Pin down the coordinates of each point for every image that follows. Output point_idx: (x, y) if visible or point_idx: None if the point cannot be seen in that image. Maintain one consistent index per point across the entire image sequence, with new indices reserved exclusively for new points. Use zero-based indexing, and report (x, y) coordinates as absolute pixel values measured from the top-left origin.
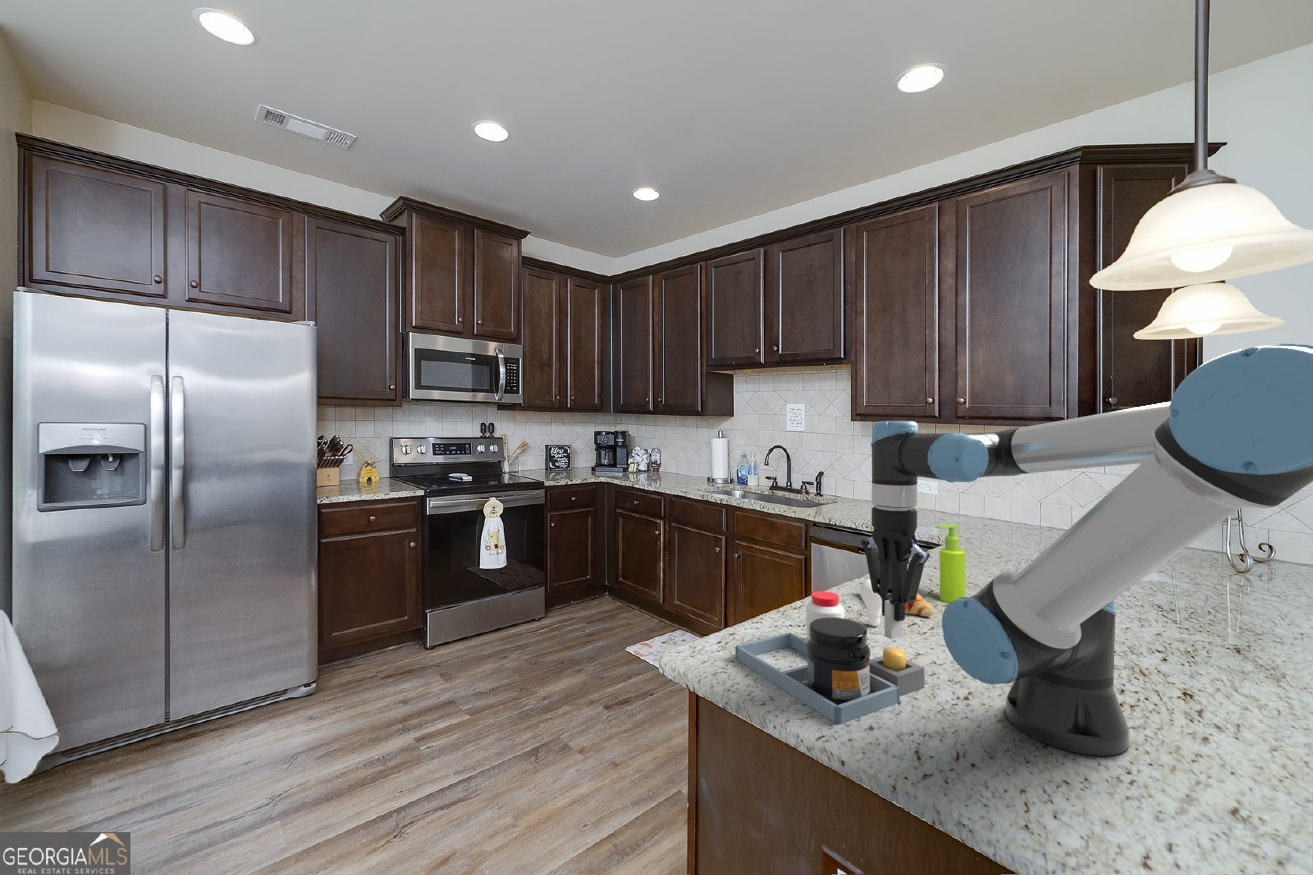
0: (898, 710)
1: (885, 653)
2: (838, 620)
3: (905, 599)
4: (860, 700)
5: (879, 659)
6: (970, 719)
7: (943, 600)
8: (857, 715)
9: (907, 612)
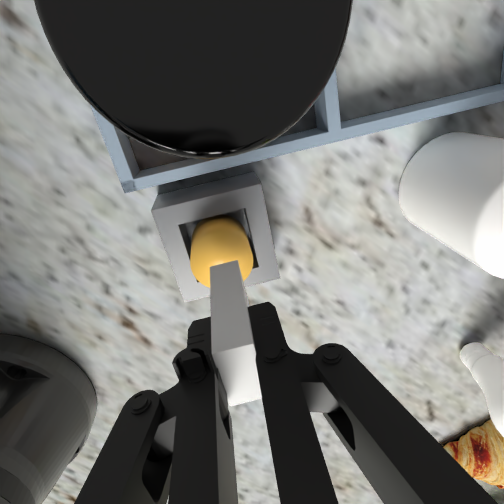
0: (95, 154)
1: (219, 233)
2: (281, 65)
3: (127, 412)
4: None
5: (257, 228)
6: (41, 279)
7: None
8: None
9: (472, 431)
